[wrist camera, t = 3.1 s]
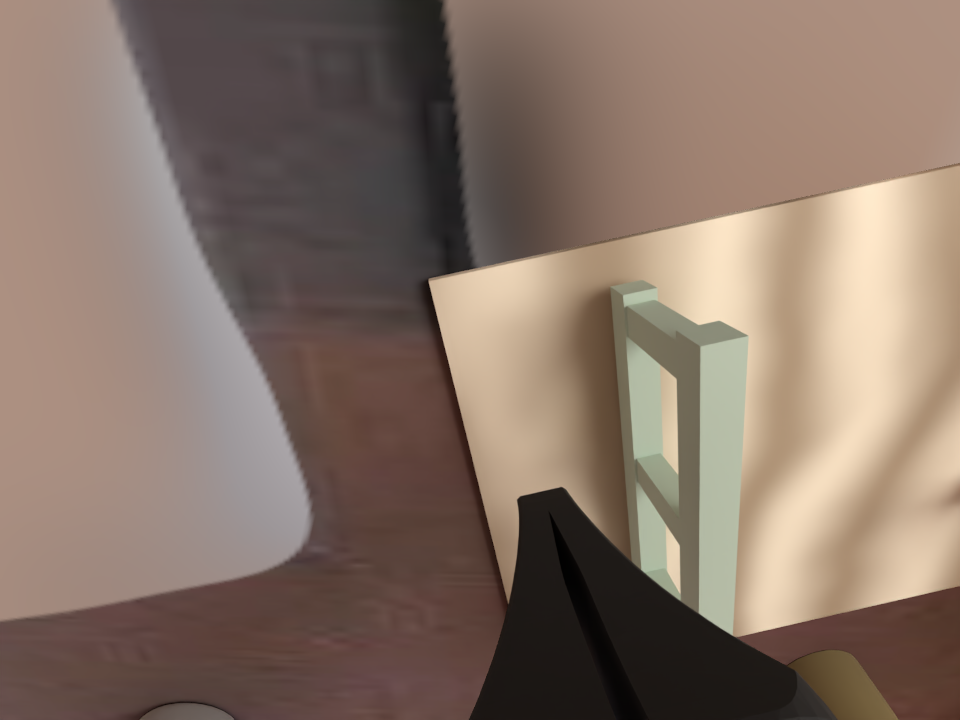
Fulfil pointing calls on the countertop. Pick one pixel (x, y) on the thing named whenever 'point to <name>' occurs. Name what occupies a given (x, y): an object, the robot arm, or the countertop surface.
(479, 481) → the base
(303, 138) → the countertop surface
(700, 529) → the bar
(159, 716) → the lotion bottle
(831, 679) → the cork
